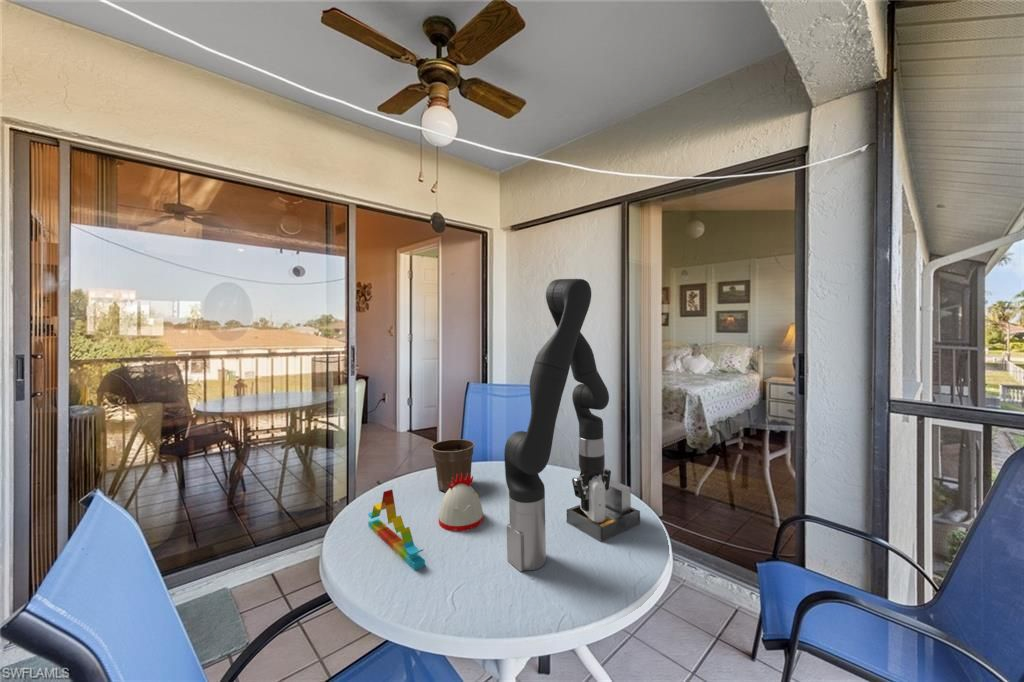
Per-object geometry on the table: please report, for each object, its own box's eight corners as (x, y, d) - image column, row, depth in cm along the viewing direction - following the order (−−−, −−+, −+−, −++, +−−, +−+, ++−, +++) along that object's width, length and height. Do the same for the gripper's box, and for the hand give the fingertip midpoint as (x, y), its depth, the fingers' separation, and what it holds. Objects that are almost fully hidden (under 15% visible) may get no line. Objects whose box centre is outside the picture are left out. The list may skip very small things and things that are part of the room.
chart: (425, 566, 105) (423, 509, 105) (414, 571, 103) (412, 513, 103) (378, 523, 128) (376, 476, 128) (368, 527, 126) (366, 479, 126)
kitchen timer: (487, 527, 124) (486, 478, 124) (441, 534, 120) (440, 484, 120) (478, 507, 138) (477, 463, 137) (436, 513, 134) (435, 468, 133)
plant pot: (430, 481, 161) (429, 441, 160) (470, 476, 165) (469, 436, 165) (435, 498, 145) (433, 453, 144) (479, 492, 150) (478, 448, 149)
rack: (600, 542, 114) (600, 503, 114) (566, 522, 126) (566, 487, 126) (640, 524, 124) (639, 488, 124) (605, 507, 136) (604, 474, 135)
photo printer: (607, 521, 118) (607, 479, 117) (594, 524, 117) (593, 481, 116) (590, 506, 128) (590, 467, 127) (578, 508, 126) (577, 469, 126)
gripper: (582, 460, 114) (583, 519, 115) (617, 450, 122) (618, 505, 123) (564, 453, 120) (565, 509, 121) (599, 444, 128) (600, 497, 129)
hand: (592, 507), depth 122 cm, fingers closed on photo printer, 5 cm apart
